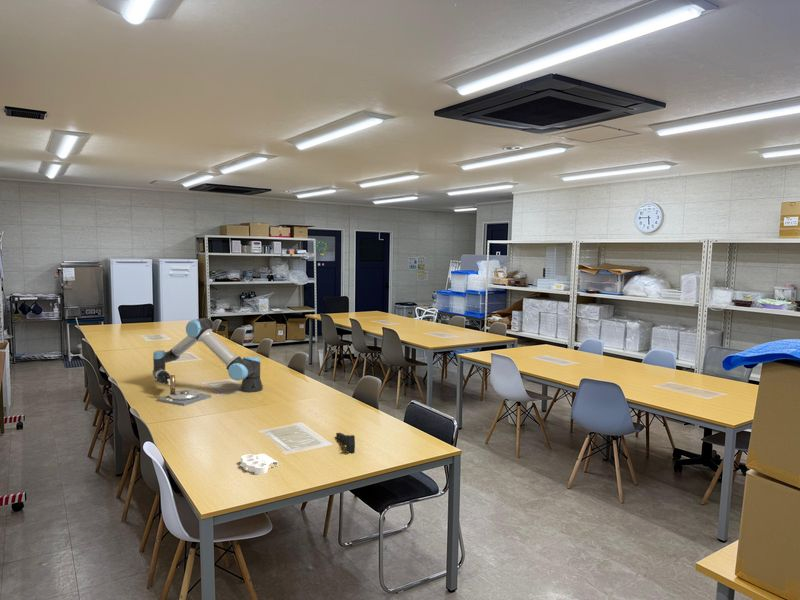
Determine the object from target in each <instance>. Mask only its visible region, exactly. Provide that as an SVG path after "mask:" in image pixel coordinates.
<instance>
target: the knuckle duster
mask: <svg viewBox="0 0 800 600" xmlns="http://www.w3.org/2000/svg"><path fill="white" fill-rule="evenodd" d="M271 463H273V464H274V465H275V466H276V467H277V466H278V465H279V462H278V461H277V460H275V459H273V458H272V457H270V456H269V455H267V454H265V453H259V454H251V453H249V454H244V455H242V456H241V457H240V464H239V465H238V467H241V468H242V467H243V468H242V469H243V470H244V471H246V472H248V471H249V472H248V473H253V472H254V474H255V475H263V473H264V474H266V473H268V470H269V469H268V468H270V469H272V468H271V467H270V466H269V465H270V464H271Z"/></svg>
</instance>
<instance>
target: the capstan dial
mask: <svg viewBox="0 0 800 600" xmlns="http://www.w3.org/2000/svg"><path fill="white" fill-rule="evenodd" d="M169 375H170V385H169V387H170V388H169V390H170V391H169V394H168V395H169V398H170V399H173V400H188V399H193V398H197V397H199V393H200V391H199V390H196V389H181V390H176V375H175V374H169Z"/></svg>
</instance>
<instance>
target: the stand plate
mask: <svg viewBox="0 0 800 600" xmlns="http://www.w3.org/2000/svg"><path fill="white" fill-rule="evenodd" d="M209 398H212V394H209V393H208V394H207V393H202V392H199V397H197V398H193V399H188V400H173V399H170V398H169V394H168V395H165V396H162V397H159V398H156V401H157V402H160V403H165V404H172V405H178V406H182V407H185V406H188V405H190V404H195V403H196V402H200V401H203V400H206V399H209Z"/></svg>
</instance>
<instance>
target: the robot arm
mask: <svg viewBox="0 0 800 600" xmlns="http://www.w3.org/2000/svg"><path fill="white" fill-rule="evenodd" d="M214 328H215V324H214V322H213V320H212V319H210V318H208V317H202V318H196V319H195V318H194V319H192V320H190V321H188V323H187V324H186V325H185V333H186V335H187V336H185V337H184V338H183V339H182V340H181V341H179V342H178V343H177V344H176V345H174V346H173V347H172V348H171V349H170V350H168V351H165V350H155V351H154V352H153V356H152V361H153V370H152V376H153V377H154V382H156V383H157V382H158V383H160V384H164V385H169V386H170V375H171V374H170V373H169V372H168V371H167V370H166V363H170V362H175V361H177V360H178V359H180V357H181V355H183V354H184V353H186V351H188V350H189V349H191V348H192V347H193V346H194V345H195V344H196V343H198V342H199V343H200V342H202V343H203V344H204V345H205V346H206V347H207V349H209V350H210V351H211V352H212V353H213V354H214V355H215V357H217V358H218V359H219V360H220V361H221V362H222V363H223V364H224V365H225V367H226V368H225V369H226V370H227V374H228V376H229V378H230V379H232V380H234V381H241V385H240V392H244V393H255V392H261V391H263V390H264V385H263V383H262V379H261V358H260V357H258V356H243V357H241V356H237V355H236V354H234V353H233V352H232V351H231V349H229V348H228V347H227V346H226V345H225V344H224V343H223V342H222V340H220V339H219V338H218V337H217V336H216V335H215V334H214V333H213V331H214V330H215V329H214Z"/></svg>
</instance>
